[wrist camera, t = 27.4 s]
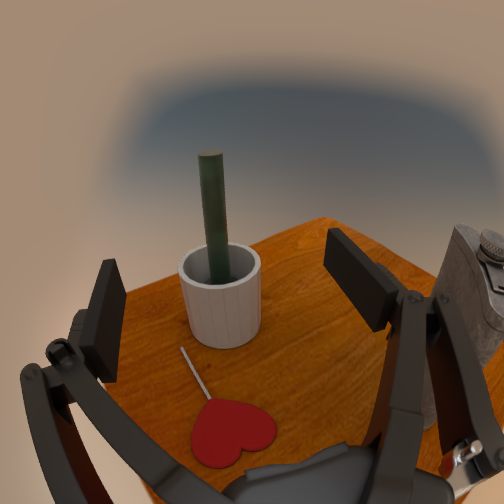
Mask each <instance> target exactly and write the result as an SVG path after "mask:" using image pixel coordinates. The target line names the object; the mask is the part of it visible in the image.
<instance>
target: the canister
mask: <svg viewBox="0 0 504 504" xmlns="http://www.w3.org/2000/svg"><path fill="white" fill-rule="evenodd" d="M228 248H229V261H230V274H231V276H233V277H235V278H237V279H239V280H238V281H236V282H233V283H228V284H224V285H207V284H203V283H204V282H205V281H206V280H208V279H210V278H211V277H210V269H209V261H208V252H207V244H204V245H202V246H199V247H196V248H194V249H192V250H191V251H189V252H187V253H186V254H185V255H184V256H183V257H182V258H181V260H180V261H179V264H178V273H179V278H180V283H181V288H182V292H183V297H184V302H185V306H186V310H187V315H188V319H189V323H190V327H191V331H192V333H193V335H194V337H195V338H196V339H197V340H198V341H199V342H201V343H202V344H204V345H206V346H209V347H212V348H217V349H229V348H235V347H238V346H241V345H243V344H245V343H247V342H249V341H250V340H251V339H253V338H254V336H255V335H256V334H257V333H258V331H259V328H260V324H261V262H260V257H259V256H258V254H257V253H256V252H255V251H254V250H253V249H251V248H250V247H248V246H245V245H242V244H239V243H232V242H228Z"/></svg>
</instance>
